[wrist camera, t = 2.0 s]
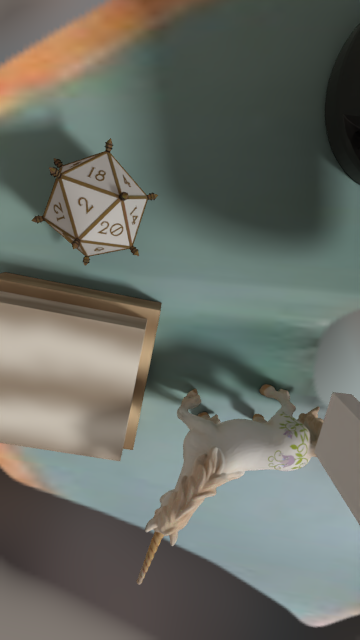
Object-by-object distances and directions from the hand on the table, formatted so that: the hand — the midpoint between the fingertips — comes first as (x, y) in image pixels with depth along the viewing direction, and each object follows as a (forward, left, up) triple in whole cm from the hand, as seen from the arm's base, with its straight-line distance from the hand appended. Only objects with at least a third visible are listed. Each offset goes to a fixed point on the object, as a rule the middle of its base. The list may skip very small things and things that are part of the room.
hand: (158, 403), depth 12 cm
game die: (-6, -7, -20) cm, 22 cm away
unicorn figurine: (+14, +9, -20) cm, 26 cm away
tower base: (+9, -8, -20) cm, 23 cm away
